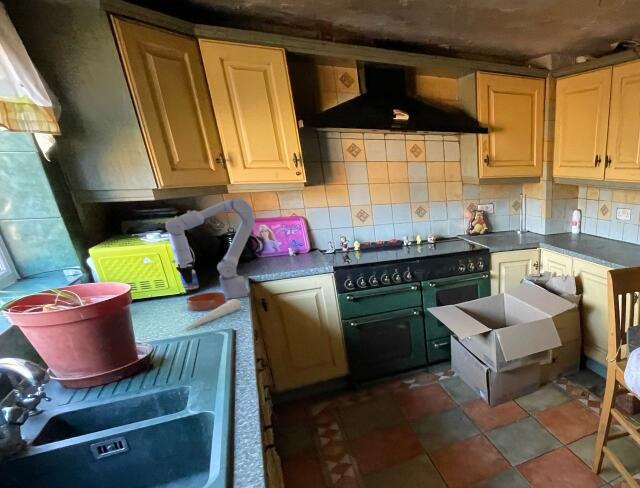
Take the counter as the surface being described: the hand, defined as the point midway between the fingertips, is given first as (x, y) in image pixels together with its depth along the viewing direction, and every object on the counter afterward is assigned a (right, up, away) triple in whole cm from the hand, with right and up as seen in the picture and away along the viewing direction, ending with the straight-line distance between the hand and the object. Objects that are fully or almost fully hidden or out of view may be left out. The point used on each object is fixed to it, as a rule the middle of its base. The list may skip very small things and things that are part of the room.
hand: (189, 281), depth 178 cm
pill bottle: (0, -3, +1) cm, 3 cm away
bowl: (+9, -11, -2) cm, 14 cm away
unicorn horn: (+22, -16, -16) cm, 32 cm away
